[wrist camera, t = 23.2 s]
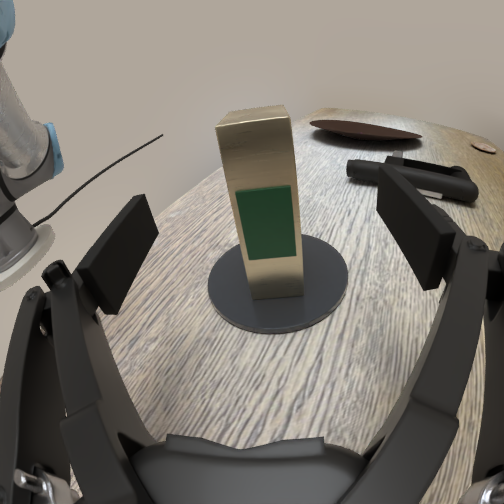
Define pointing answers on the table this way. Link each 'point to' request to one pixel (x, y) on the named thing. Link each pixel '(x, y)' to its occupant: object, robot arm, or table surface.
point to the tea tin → (264, 198)
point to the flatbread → (483, 146)
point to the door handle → (420, 176)
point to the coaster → (286, 308)
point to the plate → (363, 130)
